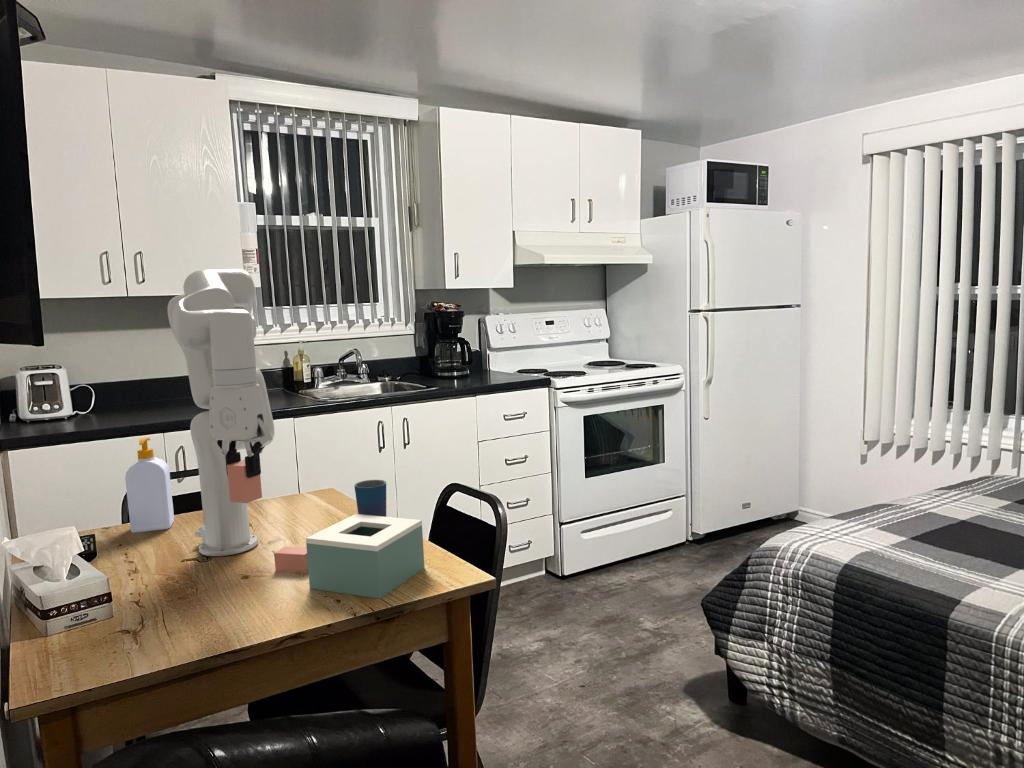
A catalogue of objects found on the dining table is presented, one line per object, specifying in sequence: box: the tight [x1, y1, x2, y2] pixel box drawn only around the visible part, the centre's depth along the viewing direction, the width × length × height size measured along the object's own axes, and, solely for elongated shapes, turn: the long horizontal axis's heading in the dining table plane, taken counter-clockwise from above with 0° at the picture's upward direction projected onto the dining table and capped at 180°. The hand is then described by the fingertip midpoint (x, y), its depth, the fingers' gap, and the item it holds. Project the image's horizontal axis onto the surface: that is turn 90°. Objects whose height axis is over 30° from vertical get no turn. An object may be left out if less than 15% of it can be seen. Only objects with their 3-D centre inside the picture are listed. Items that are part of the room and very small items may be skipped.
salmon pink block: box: [227, 459, 263, 504], centre depth 137 cm, size 4×4×7 cm
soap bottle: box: [124, 437, 175, 534], centre depth 184 cm, size 9×7×23 cm
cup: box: [354, 479, 387, 517], centre depth 160 cm, size 7×7×15 cm
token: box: [273, 545, 309, 574], centre depth 152 cm, size 7×4×4 cm, turn 75°
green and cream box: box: [305, 513, 426, 600], centre depth 144 cm, size 16×16×10 cm
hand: (244, 474), depth 137 cm, fingers closed on salmon pink block, 4 cm apart
